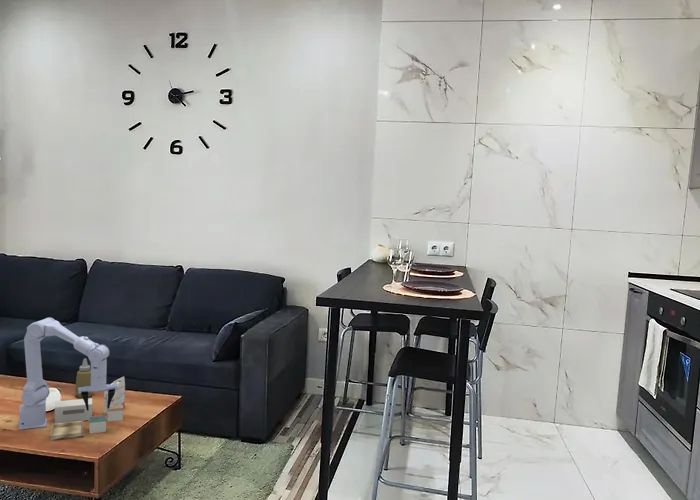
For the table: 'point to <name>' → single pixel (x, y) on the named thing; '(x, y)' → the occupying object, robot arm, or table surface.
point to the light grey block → (115, 413)
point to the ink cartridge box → (116, 395)
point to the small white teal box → (97, 424)
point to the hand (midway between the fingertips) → (98, 408)
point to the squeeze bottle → (83, 377)
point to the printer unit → (72, 411)
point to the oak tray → (66, 430)
